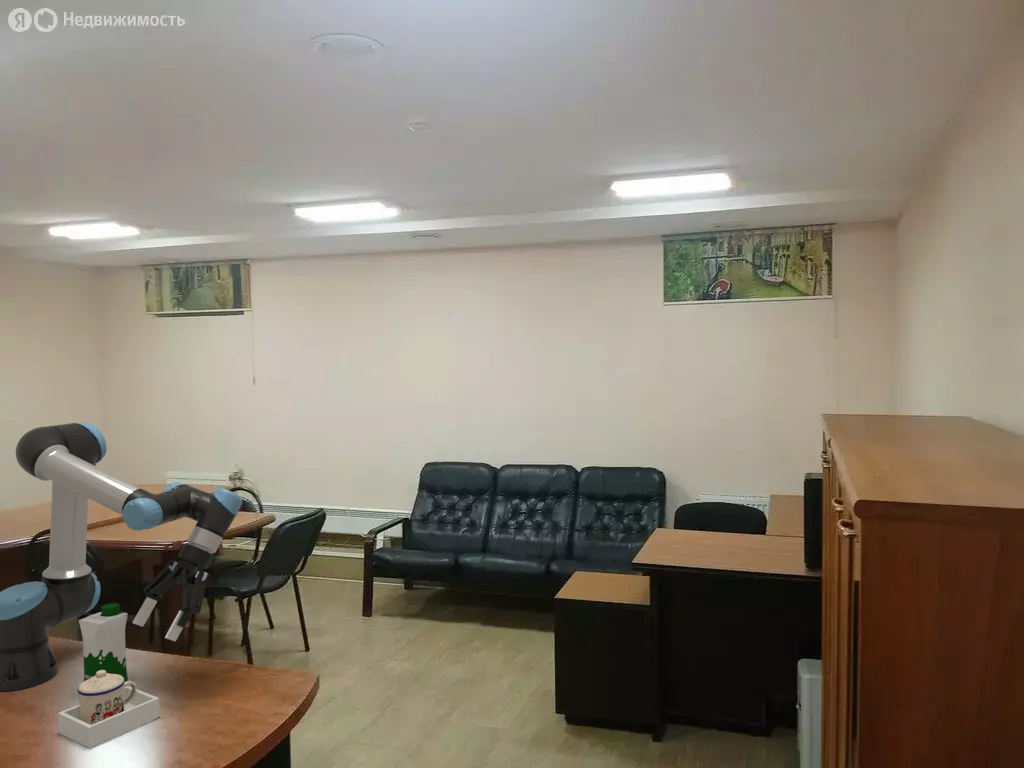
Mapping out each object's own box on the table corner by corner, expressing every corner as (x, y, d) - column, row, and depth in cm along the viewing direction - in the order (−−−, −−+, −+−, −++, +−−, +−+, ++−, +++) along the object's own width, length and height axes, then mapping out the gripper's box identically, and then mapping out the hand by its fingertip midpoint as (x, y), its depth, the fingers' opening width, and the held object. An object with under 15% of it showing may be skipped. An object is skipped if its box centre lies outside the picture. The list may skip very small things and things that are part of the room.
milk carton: (134, 682, 186) (131, 604, 185) (102, 698, 178) (99, 616, 177) (109, 677, 190) (106, 600, 189) (76, 692, 181) (73, 612, 180)
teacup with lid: (90, 737, 157) (88, 684, 157) (71, 725, 163) (69, 673, 162) (146, 715, 167) (144, 664, 166) (127, 704, 172) (125, 655, 172)
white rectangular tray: (58, 733, 161) (58, 713, 161) (128, 704, 174) (127, 685, 174) (89, 748, 155) (89, 727, 154) (159, 717, 168) (159, 698, 168)
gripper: (242, 564, 180) (196, 650, 171) (182, 544, 193) (137, 623, 185) (220, 553, 174) (171, 641, 165) (159, 533, 188) (112, 614, 179)
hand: (153, 632), depth 175 cm, fingers open, 13 cm apart
